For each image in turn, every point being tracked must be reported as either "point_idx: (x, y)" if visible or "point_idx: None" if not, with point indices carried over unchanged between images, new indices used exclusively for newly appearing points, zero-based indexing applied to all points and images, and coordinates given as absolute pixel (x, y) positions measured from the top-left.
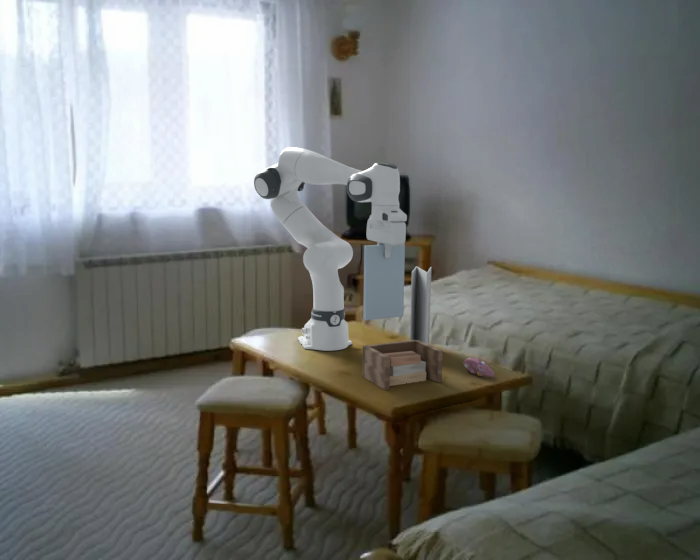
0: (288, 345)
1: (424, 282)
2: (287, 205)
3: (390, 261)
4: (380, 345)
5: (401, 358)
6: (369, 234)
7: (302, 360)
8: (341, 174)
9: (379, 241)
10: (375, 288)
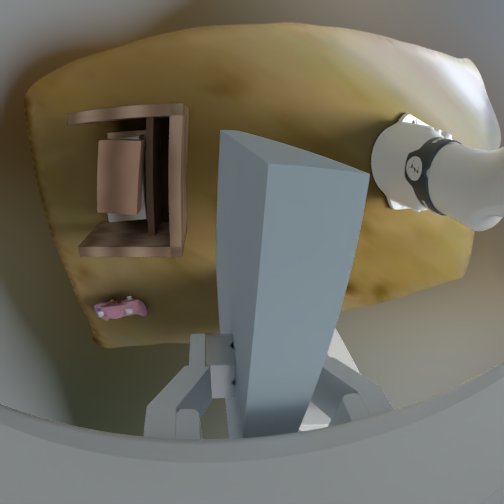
0: (433, 106)
1: None
2: None
3: None
4: (169, 148)
5: (98, 165)
6: None
7: (346, 63)
8: None
9: (308, 438)
10: (222, 187)
